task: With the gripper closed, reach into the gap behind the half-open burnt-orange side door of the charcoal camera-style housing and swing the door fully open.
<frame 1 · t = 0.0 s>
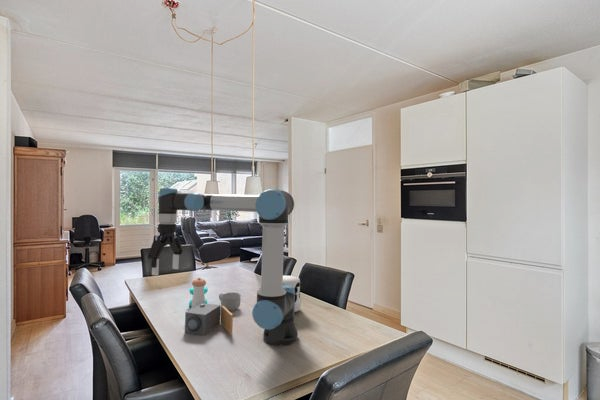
hand: (165, 271, 137), 28 cm above the table, tool pointing down, fingers open, 13 cm apart
teacup: (228, 309, 175), on the table
camera housing: (203, 327, 147), on the table
milk container: (285, 311, 173), on the table
donuts: (198, 305, 179), on the table
side door: (226, 318, 147), point 5 cm above the table, hinge at 45.0°
salt shaker: (198, 314, 165), on the table
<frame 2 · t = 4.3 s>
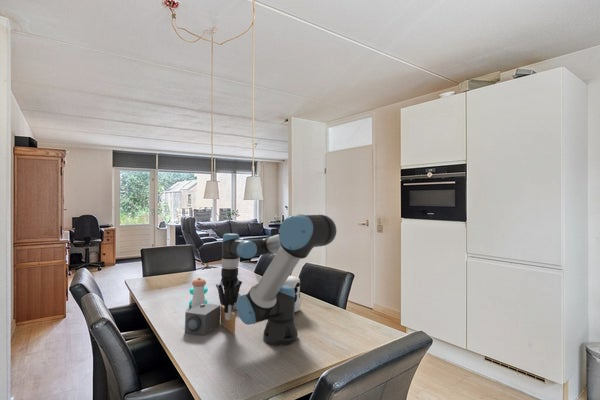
hand: (228, 319, 143), 6 cm above the table, tool pointing down, fingers closed
side door: (227, 318, 147), point 5 cm above the table, hinge at 50.2°, touching gripper
everything else where it was.
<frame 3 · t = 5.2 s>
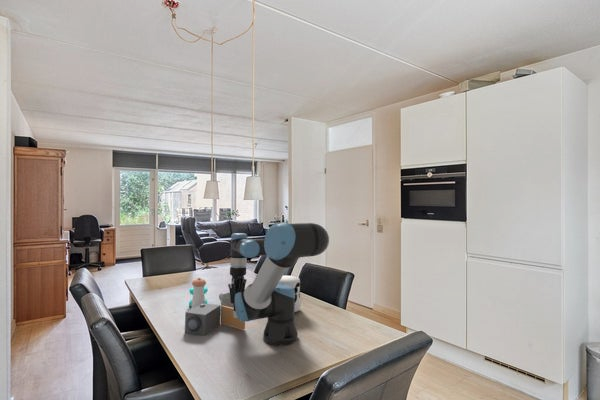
hand: (236, 317, 146), 6 cm above the table, tool pointing down, fingers closed
side door: (232, 317, 149), point 5 cm above the table, hinge at 74.2°, touching gripper
everything else where it was.
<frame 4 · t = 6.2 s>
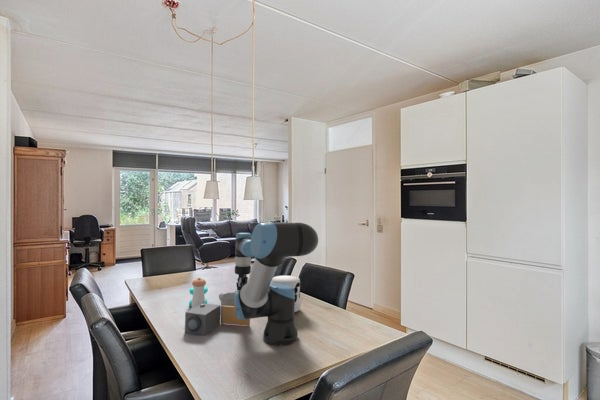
hand: (241, 314, 150), 6 cm above the table, tool pointing down, fingers closed
side door: (235, 315, 152), point 5 cm above the table, hinge at 94.9°, touching gripper
everything else where it was.
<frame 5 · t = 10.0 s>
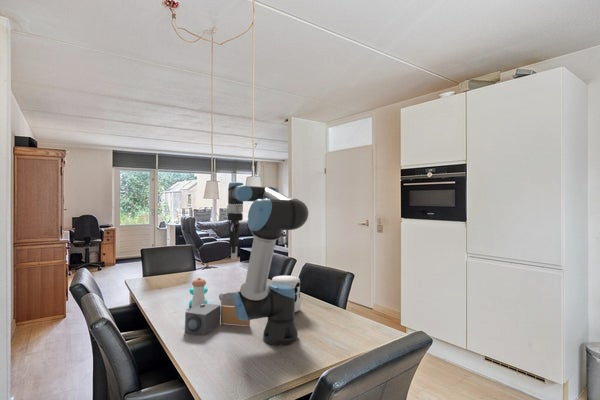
hand: (233, 259, 159), 30 cm above the table, tool pointing down, fingers closed
side door: (235, 315, 152), point 5 cm above the table, hinge at 95.0°
everything else where it was.
at the end: side door at +95° (first picture: +45°) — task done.
